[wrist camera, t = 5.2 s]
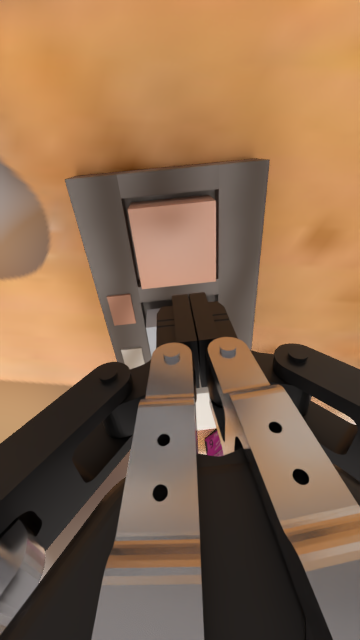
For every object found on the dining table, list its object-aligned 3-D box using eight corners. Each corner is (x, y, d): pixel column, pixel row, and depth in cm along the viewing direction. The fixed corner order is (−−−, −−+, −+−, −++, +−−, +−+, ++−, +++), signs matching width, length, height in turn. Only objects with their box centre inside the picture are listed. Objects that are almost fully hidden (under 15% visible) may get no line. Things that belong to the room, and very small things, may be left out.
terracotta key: (208, 194, 20) (215, 200, 17) (209, 268, 23) (216, 281, 21) (131, 202, 20) (127, 209, 17) (143, 275, 23) (141, 289, 21)
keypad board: (255, 158, 20) (270, 159, 17) (238, 391, 35) (245, 411, 32) (76, 175, 20) (63, 179, 17) (136, 403, 35) (134, 424, 32)
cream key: (214, 371, 28) (219, 391, 25) (214, 406, 31) (219, 427, 29) (158, 377, 28) (159, 398, 25) (165, 412, 31) (165, 434, 29)
